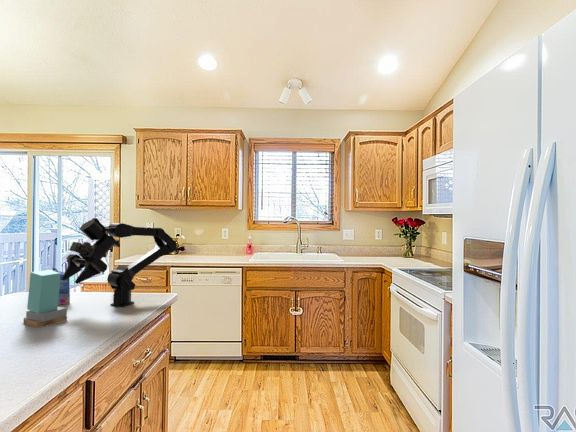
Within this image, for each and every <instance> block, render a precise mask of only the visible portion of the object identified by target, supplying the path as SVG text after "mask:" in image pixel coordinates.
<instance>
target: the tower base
mask: <svg viewBox="0 0 576 432" xmlns="http://www.w3.org/2000/svg"><path fill="white" fill-rule="evenodd" d="M64 322H68V315H66V316H62V317H59V318H55V319H52V320H48V321H45V322H41V321H35V320H30V319H26V317H23V324H24V325H27V326H29V327H32V328H35V329H38V328H43V327H47V325H48V326H51V325H55V324H60V323H64Z"/></svg>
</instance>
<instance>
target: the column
mask: <svg viewBox="0 0 576 432" xmlns="http://www.w3.org/2000/svg"><path fill="white" fill-rule="evenodd" d="M29 276H30V277H29V283H28V284H29V287H28V297H27V307H26V308H27V311H33V312H35V313H38V314H39V313H44V312H48V311H52V310H56V309H57V308H58V307H59V305H58V297H59V287H60V276H61V273H59V271H58V272H56V270H55V271H54V270H53V269H52V270H51V269H45V270H36V271H31V272H30V275H29Z"/></svg>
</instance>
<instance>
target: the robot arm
mask: <svg viewBox="0 0 576 432" xmlns="http://www.w3.org/2000/svg"><path fill="white" fill-rule="evenodd" d="M79 231H81V232H82V233H83V234H84V235H85V236H86V237H87V238H88V239H89V240H91V241H95V242H94V243H92V244H91V243H90V242H88V241H84V242H82V243H81V242H79V241H78V242H77V241H73V242H72V243H71V245H70V247H69V251H71V252H75V254H74V253H70V254H69V255H67V257H65V259H66V262H67V267H66V269H65V271H64V272H63V273H64V275H63V277H62V280H63V281H64V280H66V279H68V278H69V279H70V278H71V277H73V276H74V275H76V274H78V273H79V272H81V273H80V274H79V275H78V276H77V277H76V279H75V280H74V283H76V284H80V283H81V282H84V281H85V280H88V279H90V278H92V277H95V276H97V275H100V274H101V273H105V272H106V271H107V270H108V264H106V262H104V260H102V259H103V258H107V256H108V255H107V253H108V252H109V251H110V250H111V249H112V248H113V247H114V248H120V246H121V245H120V240H119V239H115V238H128V237H132V236H143V237H152V238H153V239H154V243H156V244H155V245H154V248H152V249H151V250H150V251H149V252H147V253H145V254H144V255H143V256H141V257H139V258H138V259H137V260H135V261H133V262H132V263H131V264H129V265H128V266H126V265H125V266H124V265H118V266H117V267H116V268H115V269H113V270H110V273H109V274H108V275H107V280H106V281H107V283H108V285H110V287H111V289H112V290H113V295H112V296H113V299H112V301H113V303H110V306H111V307H112V306H114V307H127V306H129V305H132V304H134V303H135V301H133V300H132V291H133V290H135V288H136V284H135V283H134V282H133V279H134V278H135V276H136V275H137V274H138V273H140V272H141V271H143V270H144V269H146V268H147V267H148V266H150V265H151V264H152V263H154V262H156V260H158V259H160V258H161V257H163V256H167V255H170V254H172V253H174V252H176V250H177V248H178V243H177V241H176V240H175V239H173V237H172V236H170V234H168V233H166V231H165V230H164V229H163V228H162V227H143V226H142V227H141V226H140V227H139V226H133V225H130V224H127V223H124V222H123V223H121V222H113V223H110V224H109V225H108V226H104V225H103V224H102V223H101V221H100V220H99V219H98V218H96V217H93V218H91V219H90V220H88V221H86V222H84V223H83V224H82V225H81V226H80V228H79ZM76 253H77V254H76ZM83 268H84V269H83Z"/></svg>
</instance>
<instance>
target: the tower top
mask: <svg viewBox="0 0 576 432" xmlns="http://www.w3.org/2000/svg"><path fill="white" fill-rule="evenodd" d="M25 313H26V314H25V318H26V319H30V320H35V321H41V322H45V321H48V320H52V319H55V318H59V317H62V316H68V308H67V307H63V306H58V308H57V309H56V310H52V311H48V312H44V313H39V314H38V313H35V312H33V311H30V310H26V312H25Z"/></svg>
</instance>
